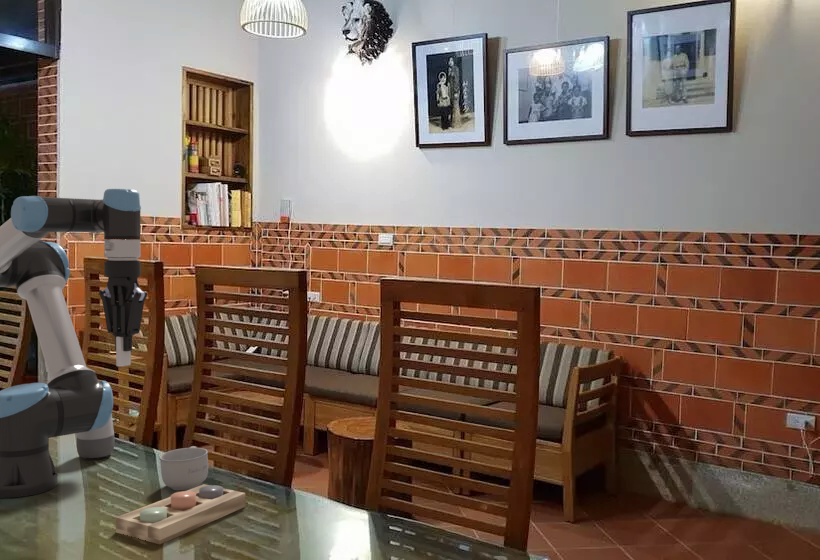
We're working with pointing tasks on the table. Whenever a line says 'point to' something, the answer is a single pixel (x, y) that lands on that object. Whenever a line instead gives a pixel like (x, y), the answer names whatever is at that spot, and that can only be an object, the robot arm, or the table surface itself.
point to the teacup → (184, 467)
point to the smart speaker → (96, 442)
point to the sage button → (153, 514)
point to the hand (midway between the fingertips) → (123, 365)
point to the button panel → (179, 516)
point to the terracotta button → (183, 500)
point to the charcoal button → (211, 492)
